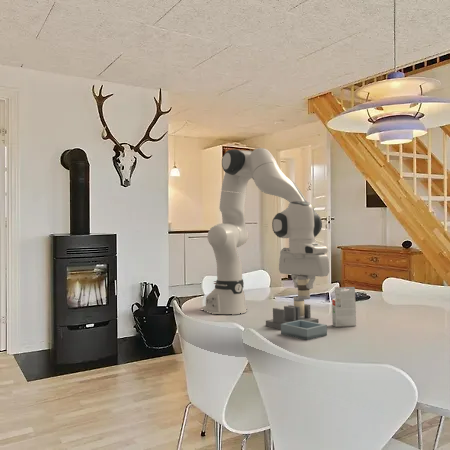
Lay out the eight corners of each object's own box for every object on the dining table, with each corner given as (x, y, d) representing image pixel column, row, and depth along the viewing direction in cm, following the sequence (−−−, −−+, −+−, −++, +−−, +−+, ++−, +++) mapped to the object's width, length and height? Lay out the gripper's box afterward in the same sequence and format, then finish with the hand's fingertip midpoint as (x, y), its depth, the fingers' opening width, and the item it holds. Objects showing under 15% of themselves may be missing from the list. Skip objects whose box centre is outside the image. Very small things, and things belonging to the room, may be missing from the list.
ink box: (332, 325, 172) (331, 286, 172) (352, 324, 173) (351, 285, 173) (335, 327, 169) (334, 287, 169) (356, 326, 170) (355, 286, 170)
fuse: (291, 318, 177) (291, 297, 177) (299, 316, 179) (298, 296, 179) (299, 319, 174) (299, 298, 174) (306, 318, 176) (306, 297, 176)
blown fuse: (295, 298, 159) (294, 275, 159) (303, 297, 162) (302, 274, 162) (304, 300, 156) (303, 276, 156) (312, 298, 158) (311, 275, 158)
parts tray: (281, 333, 160) (280, 323, 160) (300, 329, 167) (300, 319, 167) (307, 340, 151) (307, 329, 151) (327, 335, 157) (326, 324, 157)
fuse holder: (265, 325, 174) (265, 307, 174) (295, 319, 184) (294, 302, 184) (289, 331, 164) (288, 311, 164) (318, 324, 174) (318, 305, 174)
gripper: (274, 248, 165) (275, 286, 165) (319, 248, 149) (320, 291, 149) (286, 247, 169) (287, 284, 169) (331, 247, 153) (332, 289, 153)
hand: (303, 288), depth 159 cm, fingers closed on blown fuse, 4 cm apart
